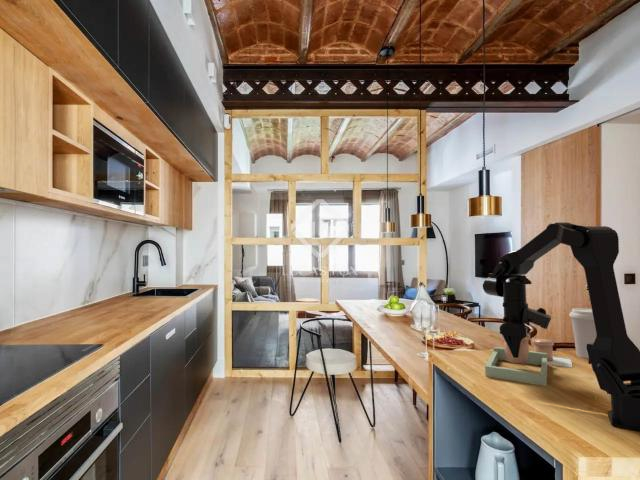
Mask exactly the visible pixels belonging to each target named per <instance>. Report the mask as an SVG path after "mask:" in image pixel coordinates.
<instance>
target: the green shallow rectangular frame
mask: <svg viewBox="0 0 640 480" xmlns="http://www.w3.org/2000/svg"><path fill="white" fill-rule="evenodd" d="M499 360H500V361H506V360H505V348H504V347H501V346H500V347H499V346H498V347H497V346H493V351H492V353H491V355H490V356H489V358H488V360H487V362H486V364H485V367H484V371H485V372H484V373H485V377H490V378H495V379H499V380H500V379H502V380H507V381H513V382H519V383H525V384H532V385H538V386H544V387H547V386H548V385H547V384H548V365H547V353H541V352H534V350H529V363H526V364H529V365H535V366H540V367H541V368H540V372H536V371H535V372H534V371H528V370H522V369H515V368H510V367H509V368H507V367H502V366H496V365H497V363H498V361H499Z"/></svg>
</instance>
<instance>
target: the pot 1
mask: <svg viewBox="0 0 640 480" xmlns="http://www.w3.org/2000/svg"><path fill="white" fill-rule="evenodd" d="M501 336H502V338H503V339H504V337H503V335H502V334H501ZM530 340H531V334H530V333H528V332H527V336H526V337H525V338H523V339H522V340H521V344H520V349H519V355H518V358H514V357H513V355H512V353H511V351H510V349H509V347H508V345H507V343H506V341H505V339H504V341H503V342H504V344H503V345H504V347H503V348H505V360H504V361H506V362H510V363H513V364H521V365H522V364H523V365H524V364H527V363H529V351H530V350H529V348H530V347H529V341H530Z"/></svg>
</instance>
